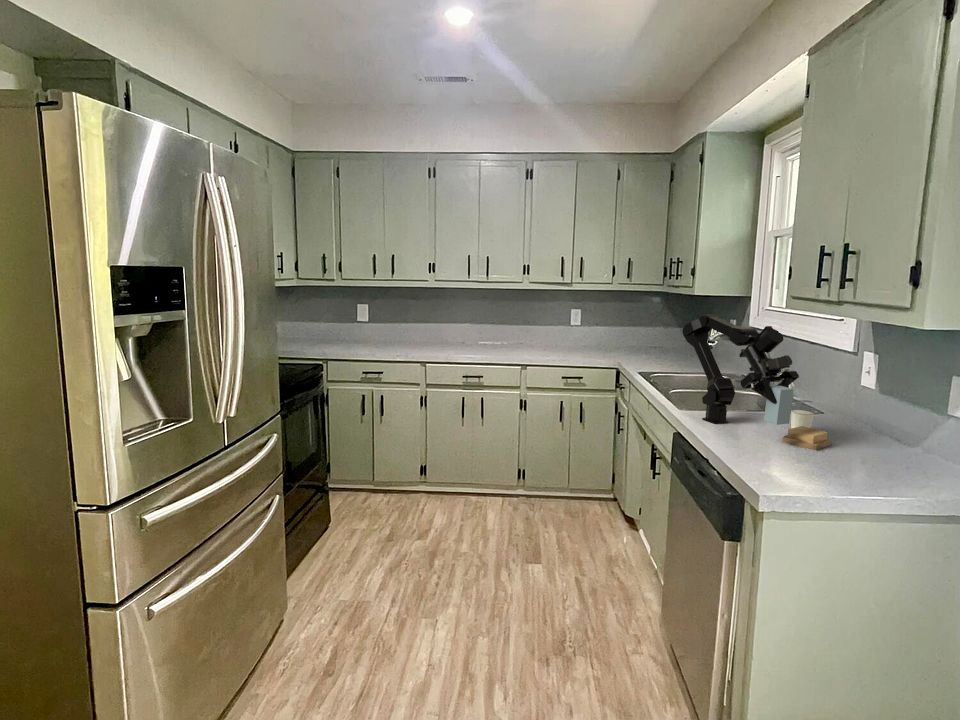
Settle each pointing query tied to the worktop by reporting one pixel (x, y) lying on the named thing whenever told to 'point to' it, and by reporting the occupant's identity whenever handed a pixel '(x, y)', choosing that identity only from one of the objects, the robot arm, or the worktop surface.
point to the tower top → (807, 434)
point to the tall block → (779, 406)
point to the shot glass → (801, 418)
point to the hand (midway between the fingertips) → (782, 402)
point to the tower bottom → (806, 443)
